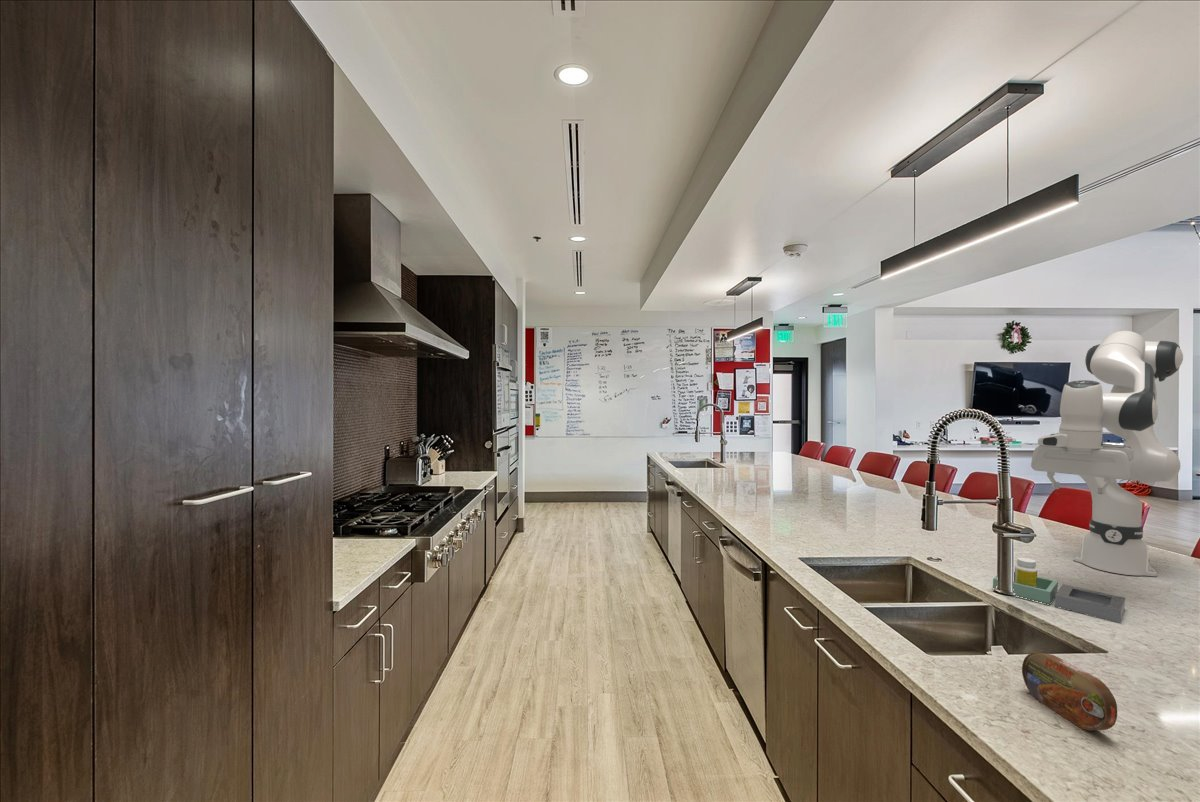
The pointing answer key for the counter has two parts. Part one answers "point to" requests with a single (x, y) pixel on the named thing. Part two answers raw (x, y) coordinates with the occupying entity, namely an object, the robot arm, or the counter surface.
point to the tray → (1035, 590)
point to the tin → (1070, 691)
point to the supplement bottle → (1026, 572)
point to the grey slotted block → (1091, 602)
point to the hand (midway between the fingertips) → (1077, 491)
